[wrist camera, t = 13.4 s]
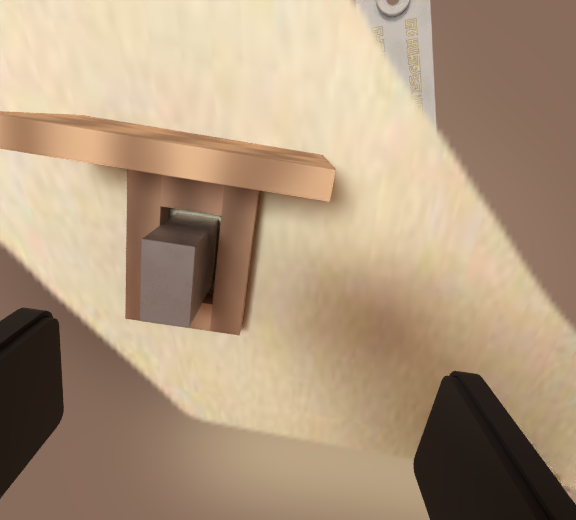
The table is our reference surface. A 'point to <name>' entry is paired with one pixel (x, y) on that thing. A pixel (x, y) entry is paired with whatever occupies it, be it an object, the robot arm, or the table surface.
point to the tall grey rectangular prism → (177, 269)
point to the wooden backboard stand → (179, 190)
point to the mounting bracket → (406, 45)
